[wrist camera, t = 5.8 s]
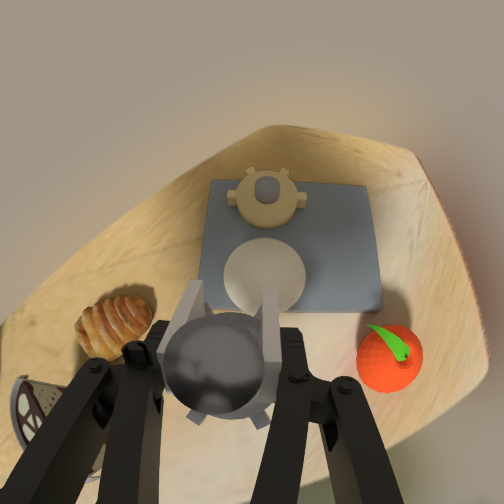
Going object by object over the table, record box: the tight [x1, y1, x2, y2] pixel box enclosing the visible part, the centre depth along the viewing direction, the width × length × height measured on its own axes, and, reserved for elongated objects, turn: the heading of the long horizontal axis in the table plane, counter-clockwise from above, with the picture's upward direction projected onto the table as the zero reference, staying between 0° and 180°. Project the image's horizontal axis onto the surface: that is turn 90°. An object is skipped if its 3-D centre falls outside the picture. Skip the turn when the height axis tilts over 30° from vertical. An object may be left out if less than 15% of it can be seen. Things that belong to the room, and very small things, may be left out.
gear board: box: [198, 166, 383, 315], centre depth 31 cm, size 20×18×5 cm
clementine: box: [356, 324, 423, 393], centre depth 24 cm, size 8×7×7 cm
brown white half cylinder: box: [10, 375, 108, 483], centre depth 19 cm, size 12×6×10 cm, turn 48°
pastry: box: [75, 294, 152, 362], centre depth 28 cm, size 9×7×4 cm
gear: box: [163, 301, 271, 430], centre depth 14 cm, size 9×8×10 cm
